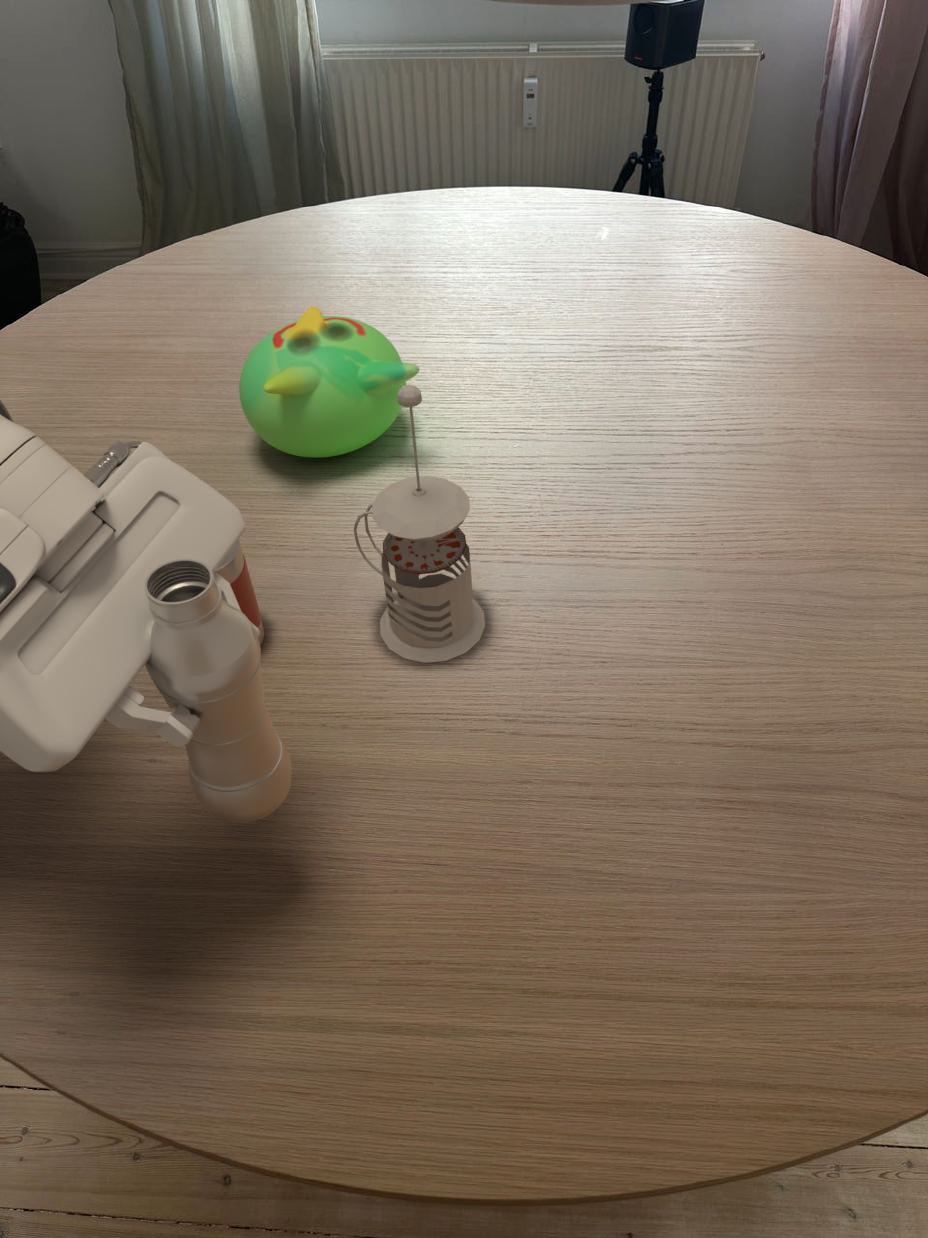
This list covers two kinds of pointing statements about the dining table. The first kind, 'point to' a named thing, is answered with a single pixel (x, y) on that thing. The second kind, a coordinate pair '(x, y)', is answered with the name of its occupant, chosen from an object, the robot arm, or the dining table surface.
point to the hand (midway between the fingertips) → (221, 689)
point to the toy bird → (322, 385)
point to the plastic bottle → (216, 692)
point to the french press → (425, 563)
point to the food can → (241, 585)
